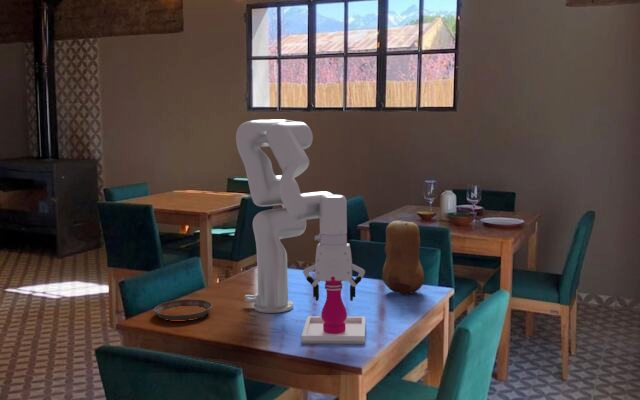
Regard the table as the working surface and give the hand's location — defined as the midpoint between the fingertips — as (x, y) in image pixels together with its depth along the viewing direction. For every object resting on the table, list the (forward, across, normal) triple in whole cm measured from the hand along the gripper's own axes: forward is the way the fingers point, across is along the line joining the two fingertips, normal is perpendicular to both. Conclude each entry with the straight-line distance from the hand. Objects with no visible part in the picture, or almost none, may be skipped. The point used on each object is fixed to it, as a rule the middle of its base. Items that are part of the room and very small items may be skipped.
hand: (334, 299), depth 187 cm
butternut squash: (+10, +21, +42) cm, 48 cm away
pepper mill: (+9, 0, 0) cm, 9 cm away
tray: (+10, 0, 0) cm, 10 cm away
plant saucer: (+10, -48, +16) cm, 52 cm away
